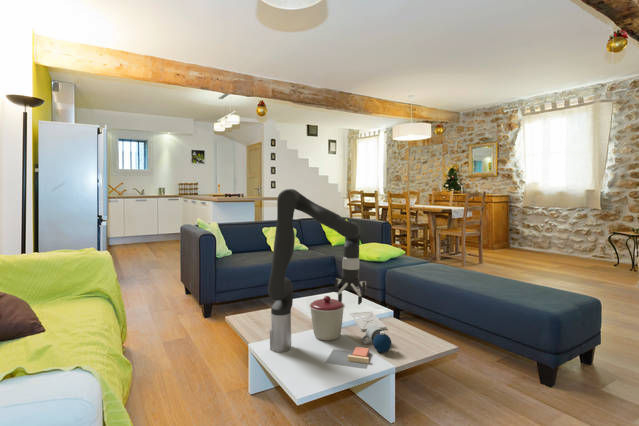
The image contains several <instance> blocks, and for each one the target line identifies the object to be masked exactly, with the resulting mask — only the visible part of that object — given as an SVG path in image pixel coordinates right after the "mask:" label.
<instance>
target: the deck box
mask: <svg viewBox="0 0 639 426" xmlns="http://www.w3.org/2000/svg"><path fill="white" fill-rule="evenodd" d="M352 352H353V354H352V355H354V356H361V357H367V356H368V354H370V348H369V347H368V348H367V347H360V346H355V348H354V350H353V351H352Z"/></svg>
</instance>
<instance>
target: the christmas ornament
mask: <svg viewBox="0 0 639 426" xmlns="http://www.w3.org/2000/svg"><path fill="white" fill-rule="evenodd" d="M384 332H385V331H384V330H383V331H380V334H377V335H376V336H375V337H374V339H373V343H372V345H373V348H374V349H375V350H376V351H377V352H379V353H386V352H388V351H390V349H391V347H392V340H391V337H390V336H389V335H388V334H387V333H385V334H384Z"/></svg>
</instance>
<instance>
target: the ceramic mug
mask: <svg viewBox="0 0 639 426" xmlns="http://www.w3.org/2000/svg"><path fill="white" fill-rule="evenodd" d="M380 331H384V330H382V329H380V328H379V327H377V326H374V325H372V326H369V327H368V328H367V330H366V331H365V335H364V336H363V337H362V338H361V342H362V344H364V345H369V344H370V343H372V344H373V339H374V337H375V336H376V335H377V334H380ZM384 334H386V333H385V331H384ZM366 339H367V340H366Z"/></svg>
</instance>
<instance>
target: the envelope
mask: <svg viewBox="0 0 639 426" xmlns="http://www.w3.org/2000/svg"><path fill="white" fill-rule="evenodd" d="M350 315H351V316H352V317H353V318H354V320H355V322H354V323H355V325H356V326H357V327H358V329H359V330H360V332H366V330H367V328H368V327H369V326H372V325H374V326H377V327H379V328H380V329H382V330H383V331H384V330H385V331H386V330H387V326H386V325H385V324H384V323H383V322H382V321H381V320H380V319H379V317H378V316H377V315H376V314H375V313H374V312H373V311H361V312H349V316H350ZM361 316H365V317H364V318H363V317H361ZM355 317H359V318H361V319H355Z"/></svg>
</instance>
